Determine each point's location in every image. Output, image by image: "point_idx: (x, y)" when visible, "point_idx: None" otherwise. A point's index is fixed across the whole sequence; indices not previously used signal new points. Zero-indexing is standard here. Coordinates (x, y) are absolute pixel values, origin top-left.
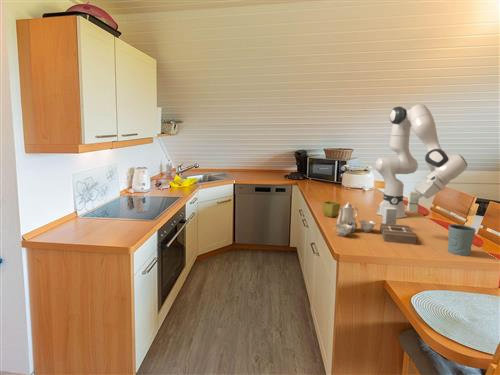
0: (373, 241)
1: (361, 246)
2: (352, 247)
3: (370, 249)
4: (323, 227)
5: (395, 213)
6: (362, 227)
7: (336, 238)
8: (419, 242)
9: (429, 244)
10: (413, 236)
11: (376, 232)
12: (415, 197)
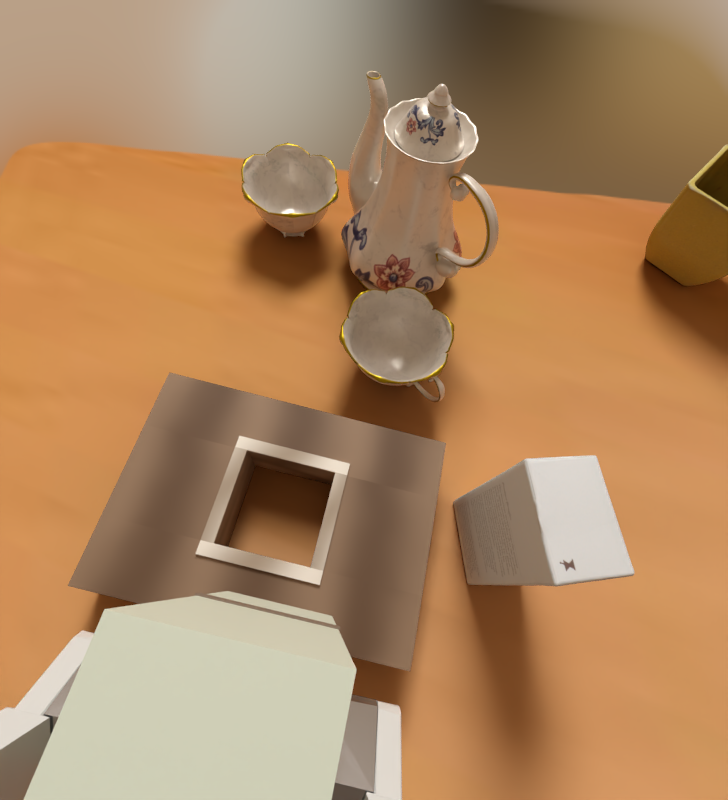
0: (188, 334)
1: (110, 250)
2: (101, 210)
3: (56, 275)
4: None
5: (525, 570)
6: (375, 316)
7: None
8: None
9: None
10: (79, 564)
11: (372, 414)
12: (29, 712)
